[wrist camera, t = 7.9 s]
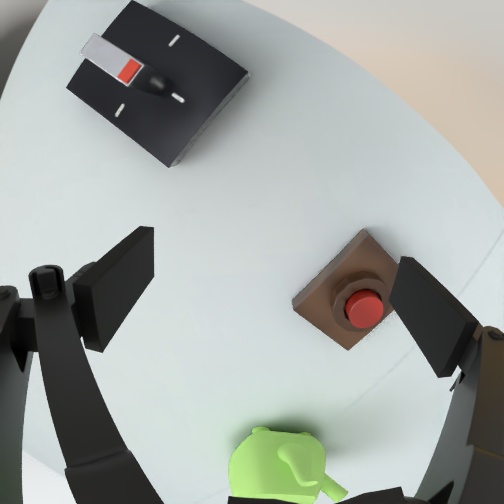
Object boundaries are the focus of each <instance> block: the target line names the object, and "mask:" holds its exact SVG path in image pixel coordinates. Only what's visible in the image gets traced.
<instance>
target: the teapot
mask: <svg viewBox="0 0 504 504" xmlns="http://www.w3.org/2000/svg"><path fill="white" fill-rule="evenodd" d="M325 463H326V459H325V449H324V447H323V446H322V444H321V443H320V442H319V441H318V440H317V439H316V438H314V437H311V434H310V433H307V432H301V433H297V434H294V433H286V432H276V431H270V430H269V429H268V428H267V427H255V428H253V429H252V434H251V435H249V436H248V437H247V438H246V439H245V440H244V441H243V442H242V443H241V444H240V445H239V446H238V447H237V448H236V450H235V451H234V453H233V454H232V456H231V458H230V461H229V483H230V488H231V492H232V495H233V497H245V498H265V499H279V500H283V501H288V502H293V503H299V504H313V503H314V502H315V500H316V499H317V496H318V494H319V491H320V490H321V491H322V492H324V493H325V494H326V495H327V496H329V497H330V498H331V499H333V500H334V501H335V502H336V503H337V502H339V501H340V500H341V499H342V498H344V497H345V496H346V495H347V494H348V491H346V490H345V489H344V488H343V487H341V486H340V485H339V484H337V483H336V482H335V481H334V480H332V479H331V478H330V477H329V476H328V475H326V474H325Z"/></svg>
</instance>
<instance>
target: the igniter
mask: <svg viewBox="0 0 504 504" xmlns="http://www.w3.org/2000/svg"><path fill="white" fill-rule="evenodd" d="M398 267H399V265H398V264H397V263H396V262H395V261H394V260H393V259H392V258H391V257H390V256H389V255H388V254H387V253H386V251H385V250H384V249H383V248H382V247H381V246H380V245H379V244H378V243H377V242H376V241H375V240H374V239H373V238H372V237H371V236H370V235H369V234H368V233H367V232H366V231H365V230H364V229H362V230H361V231H360V232H359V233H358V234H357V235H356V237H355V238H354V239H353V240H352V241H351V242H350V243H349V244H348V245H347V246H346V247H345V248H344V249H343V250H342V251H341V252H340V253H339V254H338V255H337V256H336V257H335V258H334V259H333V260H332V261H331V262H330V263H329V264H328V265H327V266H326V267H325V268H324V269H323V270H322V271H321V272H320V273H319V274H318V275H317V276H316V277H315V278H314V279H313V280H312V281H311V282H310V283H309V284H308V285H307V286H306V287H305V288H304V289H303V290H302V291H301V292H300V293H299V294H298V295H297V296H296V297H295V298H294V299H293V300H292V305H293V310H294V311H295V312H297V313H298V314H299V315H301V316H302V317H303V318H305V319H306V320H307V321H309V322H310V323H311V324H313V325H314V326H315V327H317V328H318V329H319V330H321V331H322V332H323V333H325V334H326V335H327V336H329V337H330V338H331V339H333V340H334V341H335V342H337V343H338V344H339V345H341V346H342V347H344V348H345V349H346V350H350V349H351V348H352V347H353V346H354V345H355V344H357V343H358V342H359V341H360V340H361V339H362V338H364V337H365V336H366V335H367V334H368V333H369V332H370V331H372V330H373V329H374V328H375V327H376V326H377V325H378V324H379V323H380V322H381V321H383V320H384V319H385V318H386V317H387V316H388V315H389V314H390V313H391V312H392V311H393V310H394V308H393V307H392V305H391V304H390V303H389V301H388V299H389V296H390V293H391V290H392V287H393V284H394V280H395V277H396V274H397V270H398ZM360 290H371V291H373V292H375V293H376V294H377V296H378V297H379V299H380V301H381V302H382V304H383V314H382V316H381V318H380V320H379V321H378V322H377V323H376V324H374V325H372V326H370V327H367V328H358V327H355V326H354V325H353V324H352V323H351V322H350V320H349V318H348V315H347V313H346V303H347V301H348V299H349V298H350V297H351V296H352V295H353V294H354V293H356V292H358V291H360Z"/></svg>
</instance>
